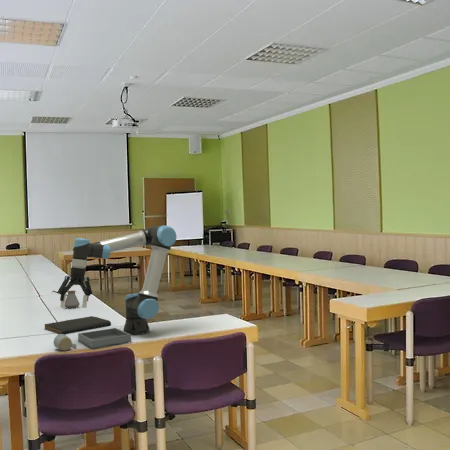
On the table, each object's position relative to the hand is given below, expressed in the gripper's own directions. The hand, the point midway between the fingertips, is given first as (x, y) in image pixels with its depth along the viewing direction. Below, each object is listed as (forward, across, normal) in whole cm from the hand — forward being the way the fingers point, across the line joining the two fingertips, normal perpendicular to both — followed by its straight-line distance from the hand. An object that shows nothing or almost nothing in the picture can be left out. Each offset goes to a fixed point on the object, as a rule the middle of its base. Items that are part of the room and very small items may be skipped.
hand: (73, 307), depth 274 cm
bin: (+18, -20, +5) cm, 27 cm away
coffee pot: (+16, -72, -107) cm, 130 cm away
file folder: (+19, -35, -41) cm, 57 cm away
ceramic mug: (+22, +1, -1) cm, 22 cm away
